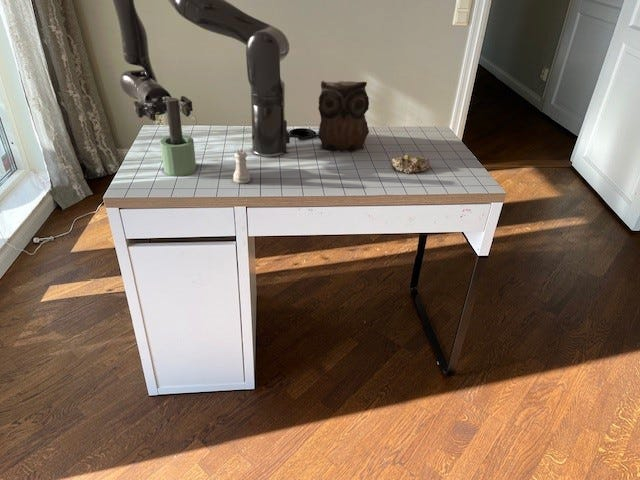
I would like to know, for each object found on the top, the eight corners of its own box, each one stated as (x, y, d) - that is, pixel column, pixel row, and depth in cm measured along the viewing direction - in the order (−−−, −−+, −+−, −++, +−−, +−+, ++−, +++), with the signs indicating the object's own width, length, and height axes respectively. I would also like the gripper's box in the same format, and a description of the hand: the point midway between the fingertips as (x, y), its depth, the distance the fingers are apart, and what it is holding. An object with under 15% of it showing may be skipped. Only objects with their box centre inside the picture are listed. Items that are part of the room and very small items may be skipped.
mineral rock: (397, 167, 132) (391, 148, 137) (393, 179, 135) (388, 160, 140) (435, 168, 133) (428, 149, 138) (430, 180, 136) (424, 161, 142)
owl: (368, 148, 148) (376, 81, 137) (339, 158, 141) (345, 88, 130) (339, 136, 156) (343, 71, 145) (310, 145, 148) (312, 78, 137)
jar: (193, 161, 134) (190, 133, 130) (198, 173, 128) (195, 145, 124) (162, 164, 132) (158, 136, 127) (166, 177, 125) (162, 148, 121)
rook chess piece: (247, 185, 124) (246, 155, 119) (230, 183, 124) (228, 153, 120) (252, 178, 127) (252, 149, 123) (236, 175, 128) (235, 147, 124)
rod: (186, 163, 132) (179, 96, 122) (188, 169, 129) (181, 101, 119) (171, 165, 130) (162, 97, 121) (173, 171, 127) (164, 102, 118)
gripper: (124, 86, 130) (140, 103, 119) (177, 81, 137) (197, 97, 125) (129, 113, 134) (144, 133, 123) (180, 107, 141) (199, 125, 129)
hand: (171, 114), depth 124 cm, fingers open, 8 cm apart
